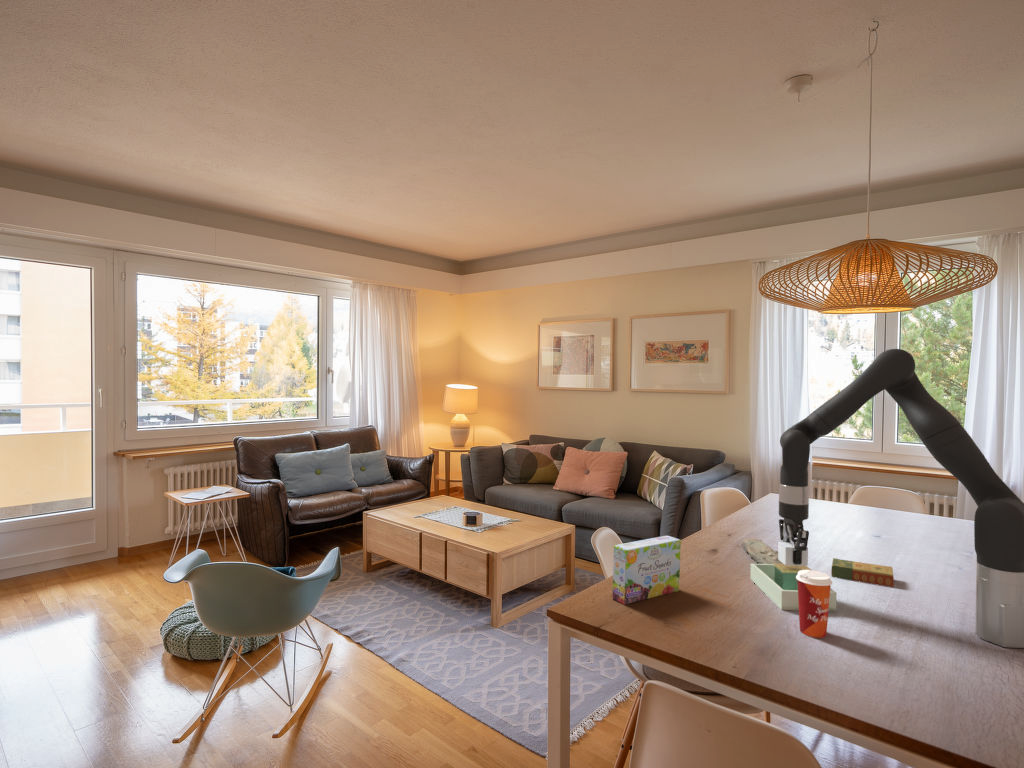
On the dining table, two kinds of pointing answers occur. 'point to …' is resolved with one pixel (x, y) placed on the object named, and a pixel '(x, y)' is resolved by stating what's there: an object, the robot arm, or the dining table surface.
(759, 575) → the tote
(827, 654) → the dining table surface
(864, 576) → the carton
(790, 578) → the tea tin
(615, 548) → the snack box
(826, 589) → the paper cup
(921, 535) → the dining table surface
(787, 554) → the white block
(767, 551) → the long grey stone
